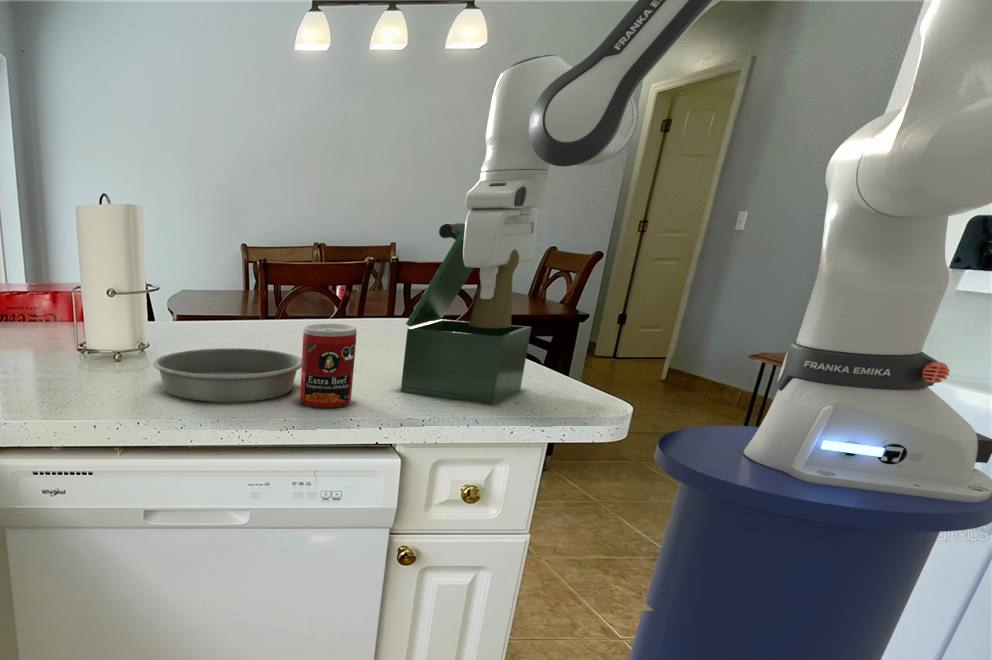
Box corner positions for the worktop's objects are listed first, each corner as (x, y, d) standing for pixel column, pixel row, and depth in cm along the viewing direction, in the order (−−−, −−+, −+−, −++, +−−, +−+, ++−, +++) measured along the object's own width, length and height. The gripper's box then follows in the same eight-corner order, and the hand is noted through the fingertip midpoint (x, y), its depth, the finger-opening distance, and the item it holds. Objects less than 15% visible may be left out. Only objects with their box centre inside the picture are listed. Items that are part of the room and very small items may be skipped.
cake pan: (293, 371, 129) (294, 346, 127) (311, 405, 106) (313, 374, 104) (158, 372, 129) (157, 347, 127) (148, 405, 107) (147, 375, 105)
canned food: (299, 408, 105) (303, 331, 100) (299, 395, 112) (303, 323, 107) (352, 409, 104) (358, 332, 99) (349, 396, 111) (355, 323, 106)
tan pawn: (470, 327, 106) (482, 248, 101) (466, 322, 111) (477, 246, 107) (514, 328, 105) (527, 248, 100) (507, 323, 110) (520, 246, 105)
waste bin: (520, 389, 114) (531, 326, 110) (492, 404, 105) (503, 337, 101) (432, 378, 123) (440, 319, 119) (400, 391, 114) (407, 328, 110)
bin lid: (499, 227, 108) (472, 211, 110) (467, 229, 100) (439, 212, 101) (442, 317, 118) (418, 301, 120) (409, 326, 110) (384, 309, 111)
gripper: (512, 195, 110) (497, 290, 115) (461, 194, 95) (447, 301, 101) (555, 194, 106) (538, 292, 111) (509, 193, 92) (491, 304, 97)
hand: (494, 296), depth 106 cm, fingers closed on tan pawn, 4 cm apart
